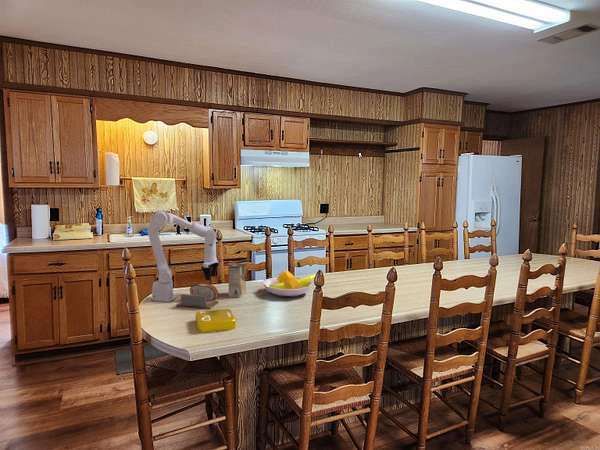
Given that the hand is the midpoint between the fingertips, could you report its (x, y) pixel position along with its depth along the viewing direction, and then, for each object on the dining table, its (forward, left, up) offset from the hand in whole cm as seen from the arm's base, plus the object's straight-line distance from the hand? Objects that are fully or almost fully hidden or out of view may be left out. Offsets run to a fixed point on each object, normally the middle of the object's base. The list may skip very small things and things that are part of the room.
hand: (210, 278), depth 204 cm
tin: (0, -8, -10) cm, 12 cm away
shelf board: (0, -15, -9) cm, 17 cm away
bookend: (0, -19, -9) cm, 21 cm away
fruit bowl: (+39, +15, -10) cm, 43 cm away
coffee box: (+13, +5, -10) cm, 17 cm away
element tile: (+18, -37, -10) cm, 42 cm away
